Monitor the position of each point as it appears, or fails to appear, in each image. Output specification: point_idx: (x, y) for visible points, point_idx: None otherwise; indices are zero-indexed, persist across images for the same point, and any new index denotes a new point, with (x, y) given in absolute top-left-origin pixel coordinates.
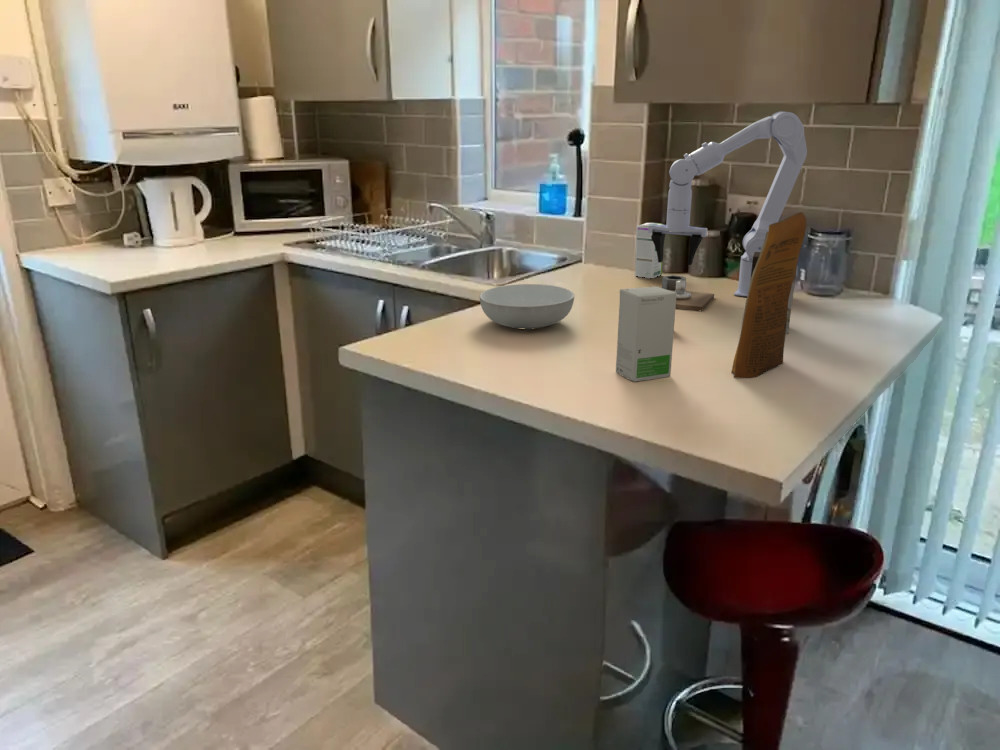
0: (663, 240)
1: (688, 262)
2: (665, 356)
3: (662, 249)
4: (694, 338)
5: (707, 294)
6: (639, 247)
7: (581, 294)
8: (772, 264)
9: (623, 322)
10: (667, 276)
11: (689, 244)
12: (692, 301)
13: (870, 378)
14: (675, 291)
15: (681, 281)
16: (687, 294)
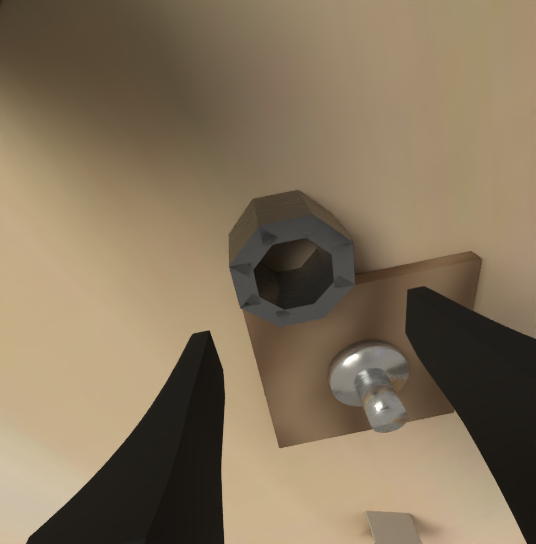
0: (188, 492)
1: (417, 348)
2: None
3: (200, 412)
4: (454, 521)
5: (455, 282)
6: None
7: (41, 452)
8: None
9: None
10: (248, 269)
11: (508, 500)
12: (417, 386)
13: None
14: (347, 368)
15: (392, 421)
16: (399, 379)
